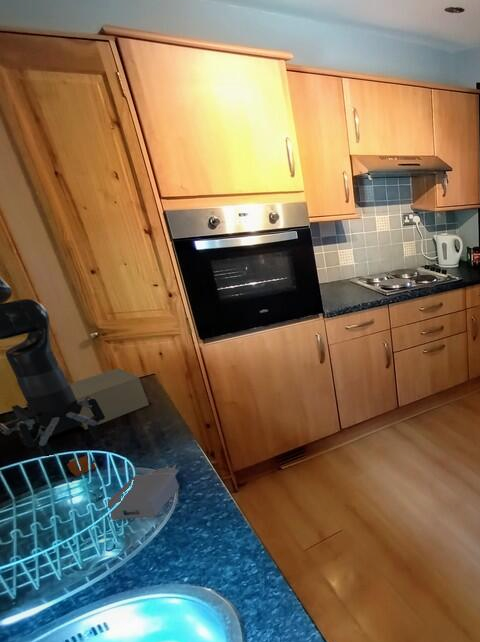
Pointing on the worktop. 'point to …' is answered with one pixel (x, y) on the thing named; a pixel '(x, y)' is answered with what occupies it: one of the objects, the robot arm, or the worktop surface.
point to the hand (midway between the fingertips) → (74, 447)
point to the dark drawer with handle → (25, 415)
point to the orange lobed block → (83, 463)
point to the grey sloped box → (110, 394)
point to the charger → (145, 494)
